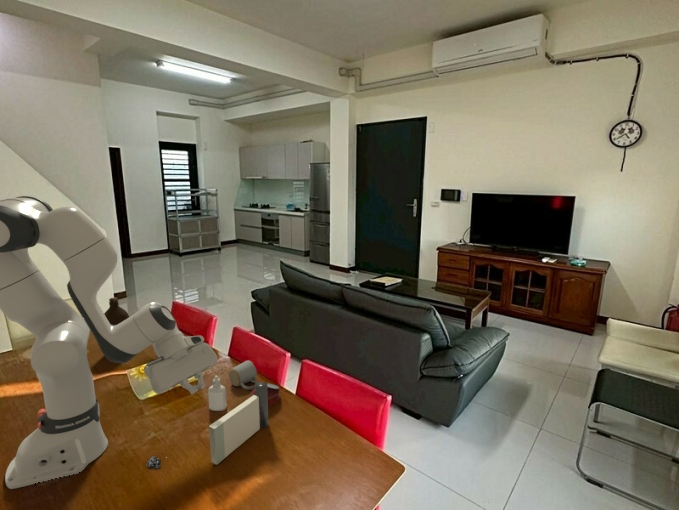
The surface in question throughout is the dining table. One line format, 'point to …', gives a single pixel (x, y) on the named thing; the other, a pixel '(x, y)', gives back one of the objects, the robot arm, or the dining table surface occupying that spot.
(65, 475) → the robot arm
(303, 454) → the dining table surface
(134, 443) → the dining table surface
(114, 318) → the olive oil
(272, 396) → the canned food
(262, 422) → the hinge post
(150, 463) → the blueberries
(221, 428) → the cream flat block
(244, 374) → the ceramic mug
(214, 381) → the eye dropper bottle
